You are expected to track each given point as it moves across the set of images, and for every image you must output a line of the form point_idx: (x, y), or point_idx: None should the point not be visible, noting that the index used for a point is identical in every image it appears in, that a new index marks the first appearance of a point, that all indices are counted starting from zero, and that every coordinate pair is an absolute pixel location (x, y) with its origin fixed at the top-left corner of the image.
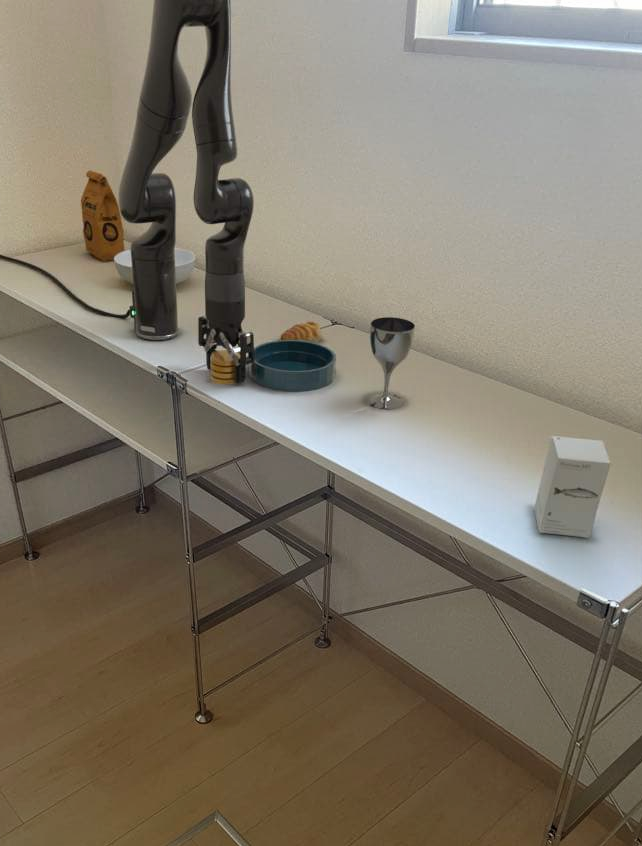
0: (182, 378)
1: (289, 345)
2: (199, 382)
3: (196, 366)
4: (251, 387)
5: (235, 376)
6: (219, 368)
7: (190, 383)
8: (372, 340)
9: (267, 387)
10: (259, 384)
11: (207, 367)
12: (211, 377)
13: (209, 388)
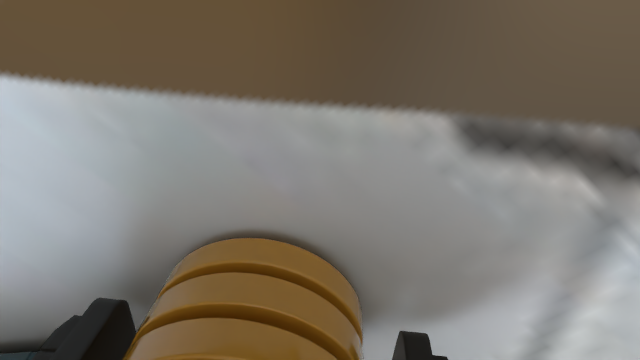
0: (539, 151)
1: None
2: (368, 186)
3: (574, 336)
4: None
5: (77, 336)
6: (160, 348)
7: (410, 127)
8: None
9: (10, 353)
10: None
11: (425, 343)
12: (300, 264)
13: (228, 162)
